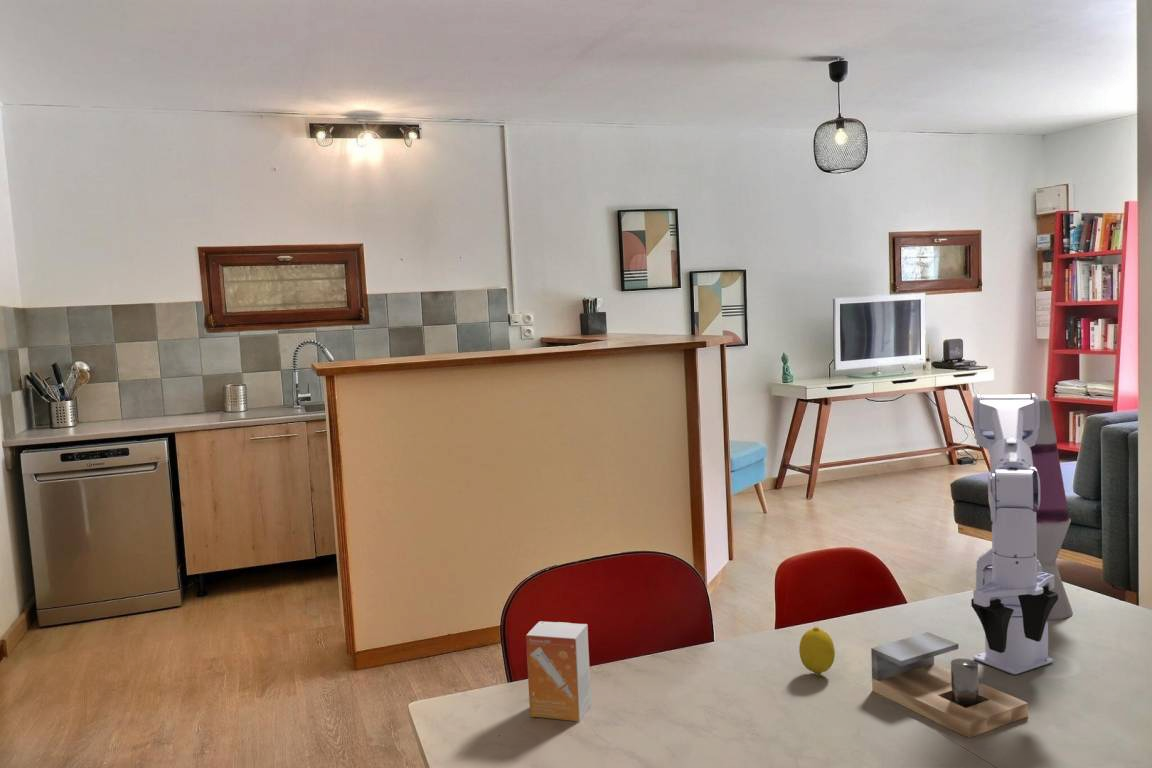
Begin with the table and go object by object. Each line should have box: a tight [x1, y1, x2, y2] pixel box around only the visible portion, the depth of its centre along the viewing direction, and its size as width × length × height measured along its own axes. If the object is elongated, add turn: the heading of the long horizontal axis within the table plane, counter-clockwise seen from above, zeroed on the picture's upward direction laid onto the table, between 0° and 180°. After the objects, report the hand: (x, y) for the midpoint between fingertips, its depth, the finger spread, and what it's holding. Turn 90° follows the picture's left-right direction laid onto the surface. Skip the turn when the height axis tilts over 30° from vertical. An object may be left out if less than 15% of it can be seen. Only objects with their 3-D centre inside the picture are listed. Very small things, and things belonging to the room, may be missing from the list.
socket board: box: [870, 631, 1029, 739], centre depth 134 cm, size 12×18×7 cm, turn 26°
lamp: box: [1030, 398, 1073, 621], centre depth 168 cm, size 11×11×40 cm
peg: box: [950, 658, 979, 708], centre depth 131 cm, size 4×4×7 cm
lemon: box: [798, 626, 836, 676], centre depth 146 cm, size 6×6×8 cm
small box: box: [525, 620, 592, 723], centre depth 137 cm, size 8×6×13 cm
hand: (1015, 644), depth 129 cm, fingers open, 7 cm apart
